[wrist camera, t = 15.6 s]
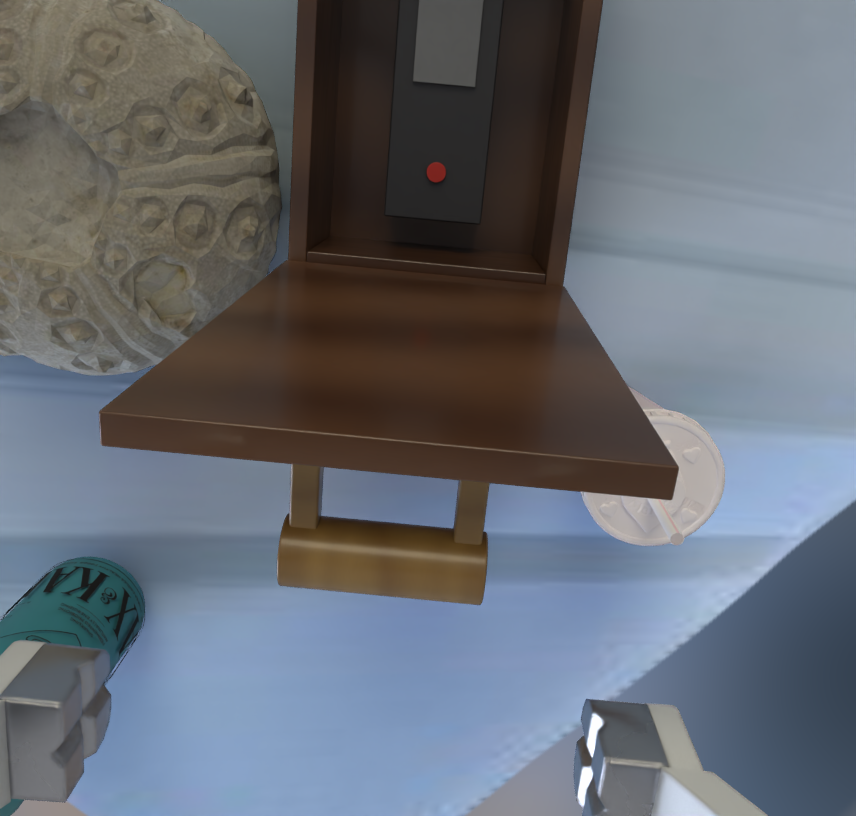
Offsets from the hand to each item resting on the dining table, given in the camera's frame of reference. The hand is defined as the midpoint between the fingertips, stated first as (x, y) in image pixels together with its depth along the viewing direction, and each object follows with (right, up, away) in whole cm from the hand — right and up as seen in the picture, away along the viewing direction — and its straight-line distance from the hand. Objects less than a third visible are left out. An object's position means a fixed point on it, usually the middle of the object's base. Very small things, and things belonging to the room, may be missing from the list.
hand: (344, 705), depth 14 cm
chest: (+2, +22, +26) cm, 34 cm away
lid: (+1, +8, +12) cm, 14 cm away
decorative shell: (-14, +17, +29) cm, 36 cm away
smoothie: (+12, +5, +32) cm, 34 cm away
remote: (+2, +22, +26) cm, 34 cm away
